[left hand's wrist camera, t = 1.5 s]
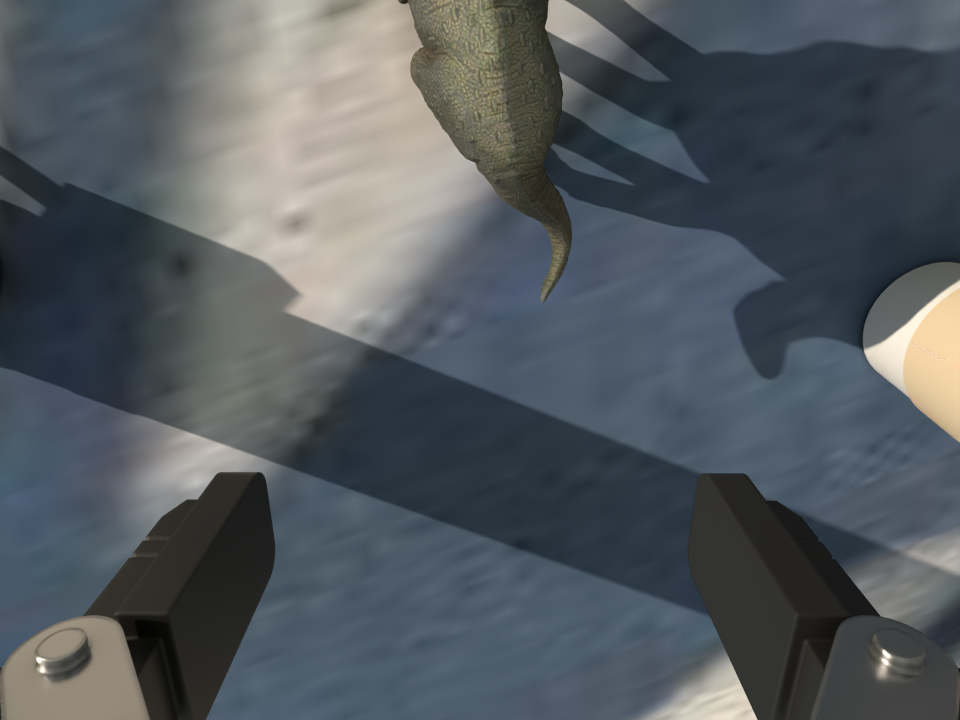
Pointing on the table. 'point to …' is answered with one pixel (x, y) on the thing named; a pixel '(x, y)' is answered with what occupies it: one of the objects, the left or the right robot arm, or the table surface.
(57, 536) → the table surface
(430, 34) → the toy dinosaur
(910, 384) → the coffee cup
